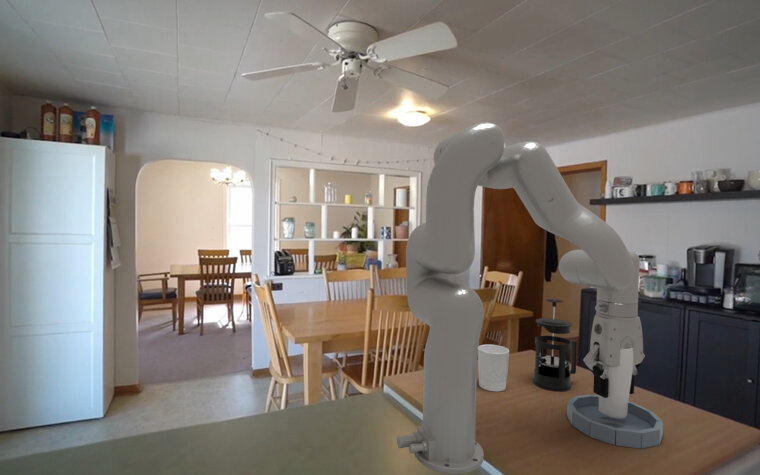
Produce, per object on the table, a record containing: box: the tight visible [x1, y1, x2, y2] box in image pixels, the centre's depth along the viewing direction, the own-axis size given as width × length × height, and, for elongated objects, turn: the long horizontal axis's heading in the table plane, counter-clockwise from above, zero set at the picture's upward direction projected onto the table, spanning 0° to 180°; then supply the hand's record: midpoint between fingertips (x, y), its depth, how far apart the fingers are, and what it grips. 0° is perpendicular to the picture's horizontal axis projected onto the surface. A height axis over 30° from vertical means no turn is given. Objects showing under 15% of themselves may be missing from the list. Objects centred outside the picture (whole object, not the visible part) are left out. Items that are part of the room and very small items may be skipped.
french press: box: [532, 298, 578, 392], centre depth 107 cm, size 12×9×23 cm
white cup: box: [477, 344, 510, 393], centre depth 105 cm, size 8×8×10 cm
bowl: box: [566, 394, 664, 449], centre depth 85 cm, size 17×17×3 cm
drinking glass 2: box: [597, 348, 633, 419], centre depth 85 cm, size 7×7×15 cm
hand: (613, 392), depth 85 cm, fingers closed on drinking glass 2, 6 cm apart
